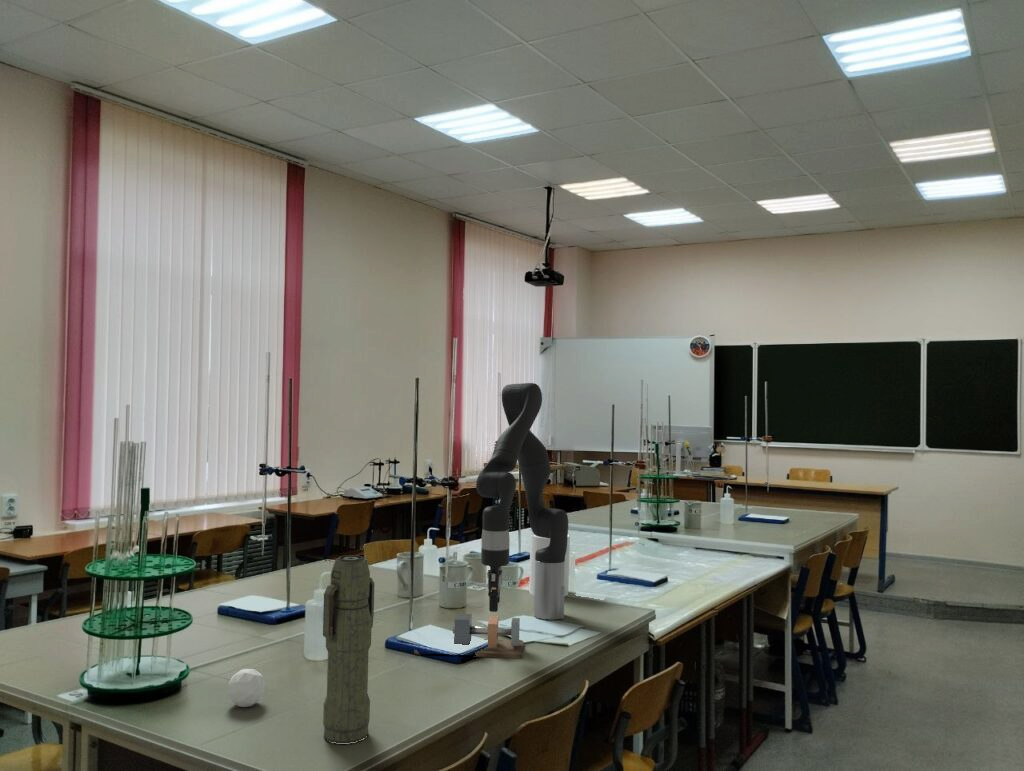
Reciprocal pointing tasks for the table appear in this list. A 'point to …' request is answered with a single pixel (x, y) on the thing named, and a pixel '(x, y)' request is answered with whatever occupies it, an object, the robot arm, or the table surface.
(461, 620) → the grey upright block
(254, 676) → the geometric ball
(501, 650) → the base plank
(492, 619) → the block
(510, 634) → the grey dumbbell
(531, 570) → the canister
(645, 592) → the table surface
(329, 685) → the thermos
